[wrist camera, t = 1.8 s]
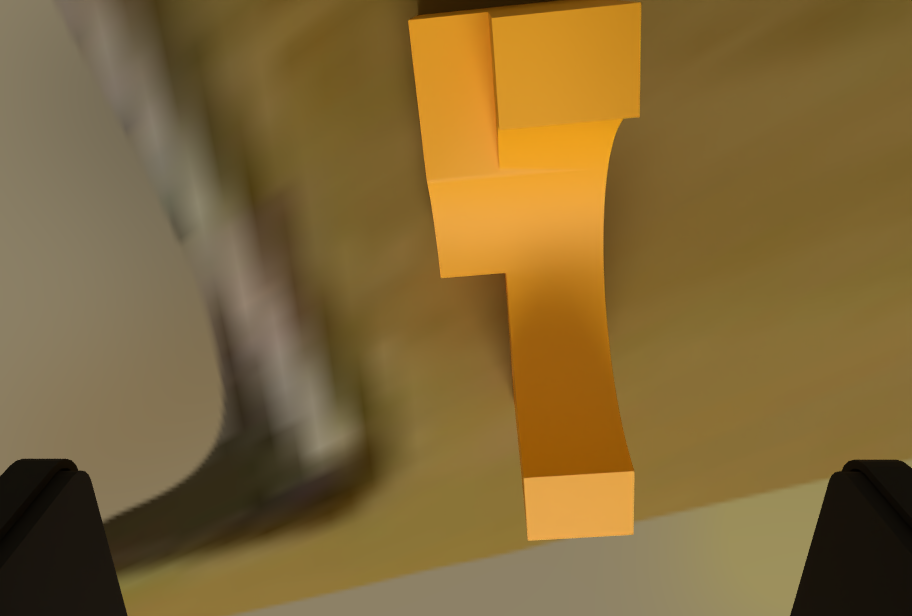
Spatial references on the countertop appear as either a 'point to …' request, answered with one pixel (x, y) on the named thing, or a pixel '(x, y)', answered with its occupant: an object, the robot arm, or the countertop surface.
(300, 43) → the countertop surface
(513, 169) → the pipe clamp
